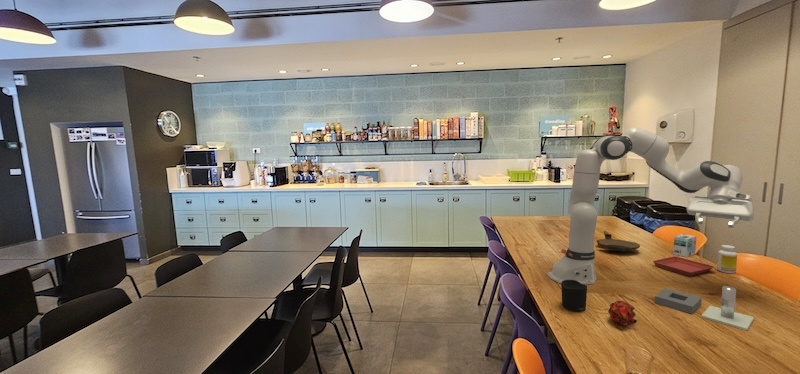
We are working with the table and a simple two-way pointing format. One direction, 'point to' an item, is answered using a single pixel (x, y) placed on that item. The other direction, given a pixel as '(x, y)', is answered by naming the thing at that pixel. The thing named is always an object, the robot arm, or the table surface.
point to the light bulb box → (684, 245)
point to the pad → (738, 320)
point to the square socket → (678, 300)
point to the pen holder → (573, 295)
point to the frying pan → (616, 244)
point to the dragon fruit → (622, 313)
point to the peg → (728, 302)
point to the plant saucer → (682, 266)
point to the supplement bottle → (727, 259)
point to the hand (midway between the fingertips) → (714, 224)
